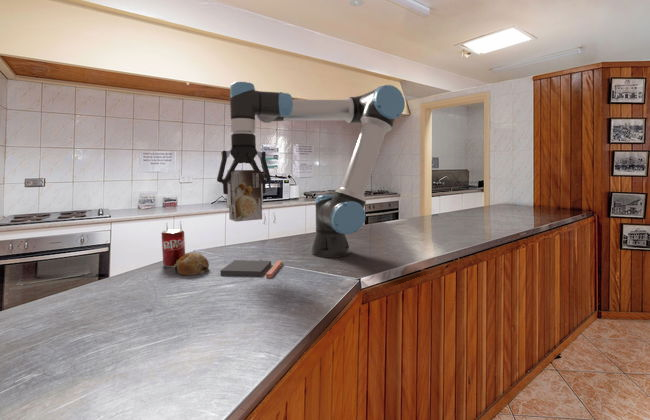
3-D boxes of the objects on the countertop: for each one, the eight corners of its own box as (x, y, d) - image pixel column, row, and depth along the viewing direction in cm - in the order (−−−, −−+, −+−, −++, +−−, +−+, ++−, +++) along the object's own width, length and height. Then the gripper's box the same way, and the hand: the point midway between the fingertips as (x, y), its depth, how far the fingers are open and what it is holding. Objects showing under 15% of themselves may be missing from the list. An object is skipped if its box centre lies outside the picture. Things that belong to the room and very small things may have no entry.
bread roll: (192, 287, 110) (201, 265, 109) (165, 272, 112) (173, 250, 110) (208, 278, 120) (217, 258, 119) (183, 264, 121) (191, 244, 120)
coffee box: (255, 217, 120) (254, 170, 118) (262, 219, 115) (261, 170, 113) (228, 219, 115) (227, 170, 113) (235, 221, 110) (233, 170, 108)
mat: (271, 265, 123) (271, 260, 123) (260, 276, 110) (260, 271, 110) (234, 264, 124) (234, 260, 124) (220, 275, 111) (220, 270, 111)
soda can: (163, 263, 125) (162, 230, 124) (185, 261, 128) (184, 228, 127) (162, 268, 119) (160, 233, 117) (185, 266, 121) (183, 232, 120)
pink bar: (282, 264, 124) (282, 260, 124) (271, 277, 108) (271, 274, 108) (277, 264, 124) (277, 260, 124) (266, 277, 108) (266, 273, 108)
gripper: (273, 136, 120) (274, 201, 122) (205, 133, 111) (207, 204, 113) (280, 134, 113) (281, 203, 116) (208, 130, 104) (210, 206, 107)
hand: (245, 203), depth 115 cm, fingers closed on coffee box, 10 cm apart
